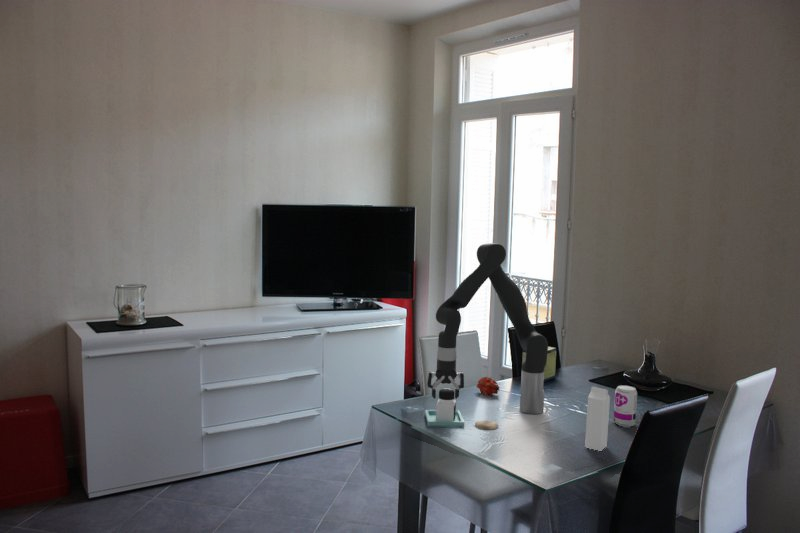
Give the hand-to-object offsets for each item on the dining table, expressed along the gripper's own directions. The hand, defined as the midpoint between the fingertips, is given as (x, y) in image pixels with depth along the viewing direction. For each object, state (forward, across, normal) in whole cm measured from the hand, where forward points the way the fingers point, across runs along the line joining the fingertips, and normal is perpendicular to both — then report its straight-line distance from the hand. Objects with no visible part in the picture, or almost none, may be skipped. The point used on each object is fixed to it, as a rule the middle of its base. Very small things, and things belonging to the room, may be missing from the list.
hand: (445, 398), depth 261 cm
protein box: (+10, -54, -63) cm, 83 cm away
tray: (+9, 0, 0) cm, 9 cm away
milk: (+10, -52, +26) cm, 59 cm away
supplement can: (+10, -72, +1) cm, 73 cm away
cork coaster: (+9, -16, +5) cm, 19 cm away
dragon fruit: (+10, -24, -36) cm, 44 cm away
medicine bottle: (+9, 0, 0) cm, 9 cm away
